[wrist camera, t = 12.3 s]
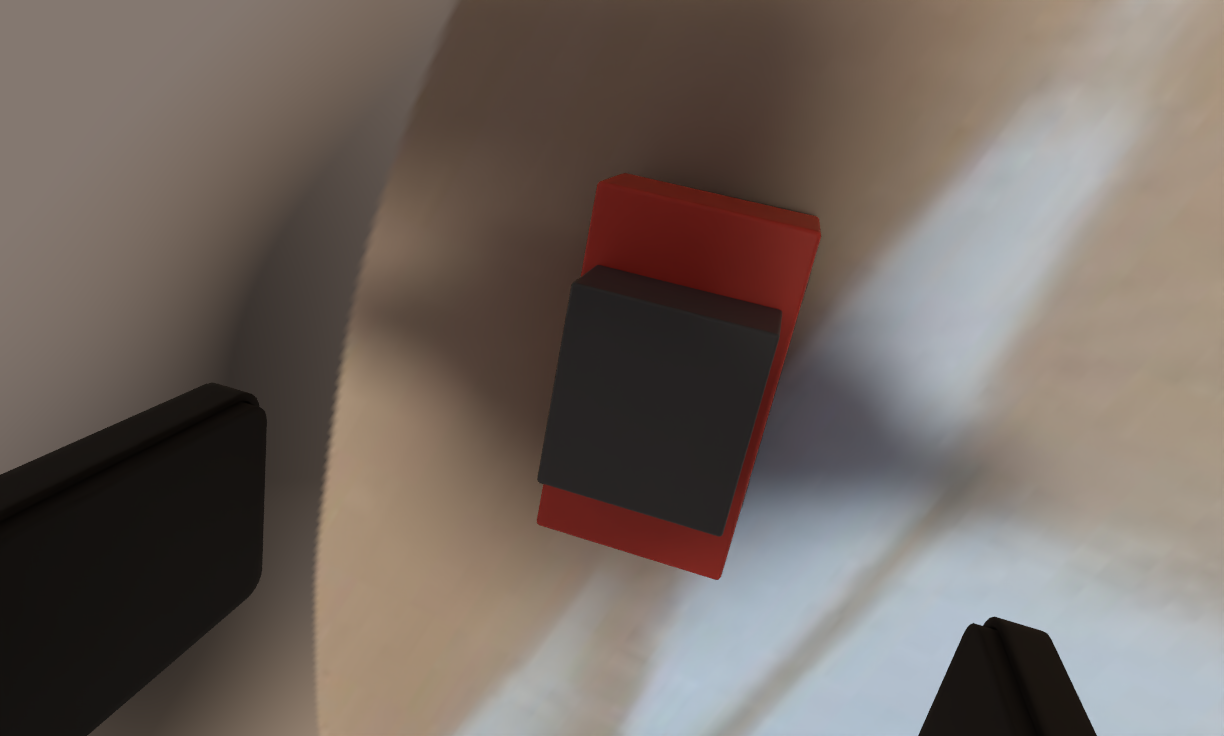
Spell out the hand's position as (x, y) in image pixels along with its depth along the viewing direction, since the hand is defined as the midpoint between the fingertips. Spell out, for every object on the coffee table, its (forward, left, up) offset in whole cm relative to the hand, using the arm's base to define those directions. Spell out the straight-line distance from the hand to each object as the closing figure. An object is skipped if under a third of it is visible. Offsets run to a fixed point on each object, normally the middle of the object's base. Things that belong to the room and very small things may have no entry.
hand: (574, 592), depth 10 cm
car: (0, 0, -10) cm, 10 cm away
